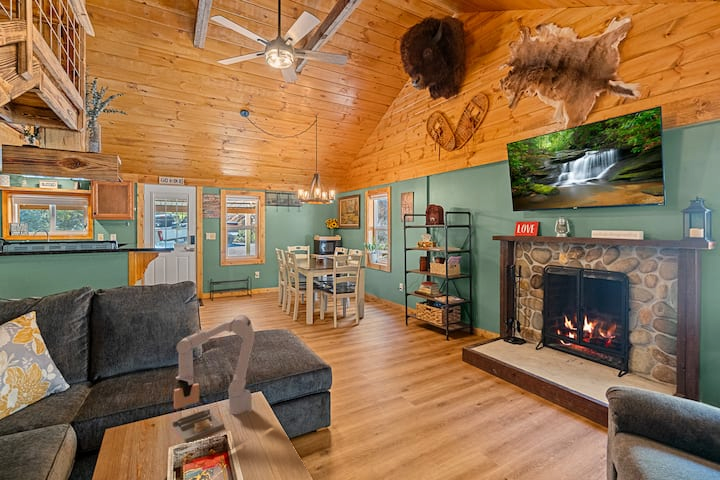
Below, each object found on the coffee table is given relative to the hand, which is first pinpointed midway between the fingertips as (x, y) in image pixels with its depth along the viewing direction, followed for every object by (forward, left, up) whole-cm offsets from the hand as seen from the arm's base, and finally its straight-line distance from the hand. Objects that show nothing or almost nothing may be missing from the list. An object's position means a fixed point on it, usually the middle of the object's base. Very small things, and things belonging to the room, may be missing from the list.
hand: (186, 395), depth 152 cm
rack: (0, +14, -9) cm, 17 cm away
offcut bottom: (-1, +18, -8) cm, 20 cm away
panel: (0, 0, -4) cm, 4 cm away
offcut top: (-1, +18, -7) cm, 20 cm away
